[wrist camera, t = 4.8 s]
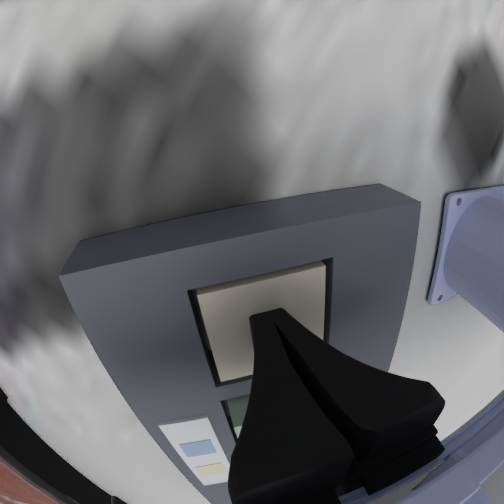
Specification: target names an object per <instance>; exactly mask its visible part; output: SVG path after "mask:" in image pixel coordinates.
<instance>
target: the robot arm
mask: <svg viewBox="0 0 504 504" xmlns="http://www.w3.org/2000/svg"><path fill="white" fill-rule="evenodd" d="M457 294H459V295H460V296H461V297H463V298H464V299H465V300H466V301H467V302H469V303H470V304H471V305H472V306H474V307H475V308H476V309H477V310H478V311H480V312H481V313H482V314H483V315H484V316H485V317H487V318H488V319H489V320H490V321H491V322H492V323H493V324H495V325H496V326H497V327H498V328H499V329H500V330H501V331H503V332H504V185H501V186H494V187H488V188H481V189H474V190H468V191H461V192H455V193H450V194H449V195H448V196H447V197H446V200H445V207H444V215H443V223H442V230H441V236H440V243H439V248H438V254H437V259H436V264H435V269H434V274H433V279H432V283H431V288H430V292H429V296H428V303H429V304H430V305H435V304H438V303H440V302H442V301H444V300H446V299H448V298H450V297H453V296H455V295H457ZM249 322H250V329H251V335H252V342H253V348H254V366H253V377H252V385H251V391H250V396H249V401H248V406H247V410H246V414H245V418H244V421H243V424H242V428H241V431H240V434H239V437H238V440H237V442H236V445H235V447H234V450H233V452H232V455H231V462H230V468H229V475H228V492H229V495H230V499H231V502H232V504H370V503H372V502H374V501H376V500H378V499H380V498H382V497H384V496H386V495H388V494H390V493H392V492H394V491H396V490H398V489H399V488H401V487H403V486H405V485H406V484H408V483H410V482H412V481H413V480H415V479H416V478H418V477H420V476H422V475H423V474H425V473H426V472H428V471H429V470H431V469H433V468H434V467H435V466H437V465H438V464H440V463H441V464H440V465H439V466H438V467H436V468H435V469H434V470H432V471H431V472H430V473H429V474H428V475H427V477H426V478H425V479H424V480H423V481H421V482H420V483H419V484H418V485H417V486H415V487H414V488H413V489H412V492H410V493H408V494H406V495H405V496H403V497H401V498H399V499H398V500H396V501H394V502H392V503H390V504H491V503H490V501H489V500H488V498H487V497H486V495H485V494H484V492H483V491H482V489H481V488H480V484H481V483H482V482H483V481H485V480H486V479H487V478H488V477H489V476H490V475H491V474H492V473H493V472H494V471H495V470H496V469H497V468H498V467H499V466H500V465H501V464H502V463H503V462H504V394H503V395H502V396H501V397H499V398H498V399H497V400H496V401H495V402H494V403H493V404H491V405H490V406H489V407H488V408H487V409H486V410H484V411H483V412H482V413H481V414H480V415H478V416H477V417H476V418H475V419H473V420H472V421H471V422H470V423H468V424H467V425H466V426H464V427H463V428H462V429H460V430H459V431H458V432H456V433H455V434H453V435H452V436H450V437H449V438H448V439H446V440H445V441H443V442H442V443H441V442H440V441H439V439H438V438H437V437H436V434H437V433H438V431H437V429H436V428H435V426H434V425H433V424H434V423H435V421H436V420H437V418H438V417H439V415H440V414H441V412H442V410H443V408H444V405H445V400H444V399H443V398H442V396H441V395H440V394H439V392H438V391H437V390H436V389H435V388H434V387H433V386H432V385H431V384H430V383H429V382H425V381H420V380H415V379H410V378H406V377H402V376H398V375H395V374H391V373H388V372H385V371H382V370H380V369H377V368H375V367H372V366H369V365H367V364H364V363H362V362H360V361H358V360H356V359H354V358H352V357H350V356H348V355H346V354H344V353H343V352H341V351H339V350H337V349H336V348H334V347H333V346H331V345H329V344H328V343H326V342H325V341H323V340H322V339H321V338H319V337H318V336H316V335H315V334H314V333H312V332H311V331H310V330H308V329H307V328H306V327H304V326H303V325H302V324H301V323H300V322H298V321H297V320H296V319H295V318H294V317H292V316H291V315H290V314H289V313H288V312H287V311H286V310H285V309H283V308H278V309H274V310H270V311H266V312H262V313H258V314H254V315H251V316H250V317H249ZM444 460H445V461H444ZM443 461H444V462H443ZM442 462H443V463H442Z"/></svg>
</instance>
